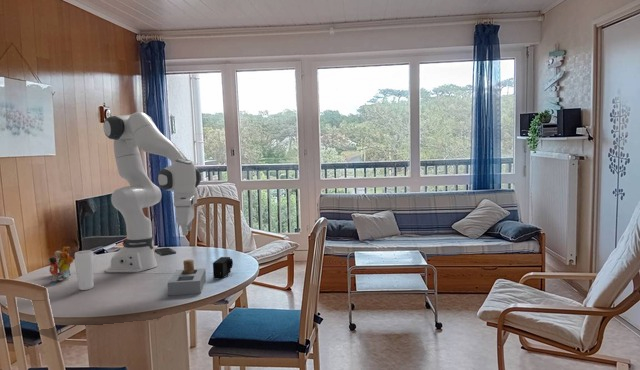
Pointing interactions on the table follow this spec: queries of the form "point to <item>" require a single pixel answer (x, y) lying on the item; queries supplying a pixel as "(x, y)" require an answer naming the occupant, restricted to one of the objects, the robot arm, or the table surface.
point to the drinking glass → (85, 269)
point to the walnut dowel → (188, 267)
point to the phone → (165, 251)
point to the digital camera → (222, 267)
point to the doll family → (60, 265)
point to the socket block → (186, 282)
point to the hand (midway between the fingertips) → (187, 232)
